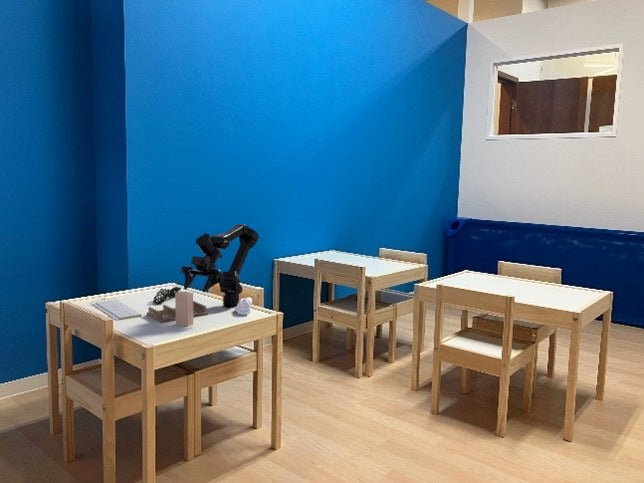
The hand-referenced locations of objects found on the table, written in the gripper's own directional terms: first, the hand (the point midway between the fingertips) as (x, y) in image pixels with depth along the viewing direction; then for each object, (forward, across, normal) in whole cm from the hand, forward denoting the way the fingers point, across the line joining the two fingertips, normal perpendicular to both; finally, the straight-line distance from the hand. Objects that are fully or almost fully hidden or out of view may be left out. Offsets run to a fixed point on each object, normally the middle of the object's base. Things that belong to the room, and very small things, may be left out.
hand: (193, 290), depth 222 cm
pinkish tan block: (+13, 0, +5) cm, 14 cm away
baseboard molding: (+12, -40, +7) cm, 42 cm away
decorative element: (-7, -33, +26) cm, 42 cm away
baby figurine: (-6, +11, +24) cm, 27 cm away
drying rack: (+6, -12, +12) cm, 18 cm away
